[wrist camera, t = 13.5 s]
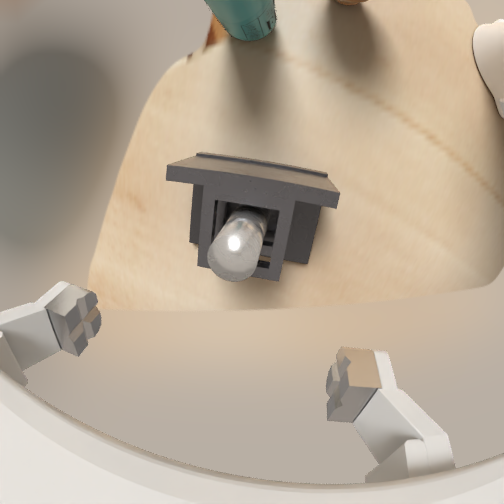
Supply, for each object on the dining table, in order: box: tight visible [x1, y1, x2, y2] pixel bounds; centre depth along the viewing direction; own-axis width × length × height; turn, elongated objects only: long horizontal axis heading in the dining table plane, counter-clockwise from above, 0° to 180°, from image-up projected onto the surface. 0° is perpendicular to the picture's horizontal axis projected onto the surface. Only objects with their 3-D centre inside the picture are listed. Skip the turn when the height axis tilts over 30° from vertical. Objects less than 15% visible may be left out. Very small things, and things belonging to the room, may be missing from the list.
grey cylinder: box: [207, 204, 271, 282], centre depth 29 cm, size 4×4×14 cm
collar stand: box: [166, 152, 340, 281], centre depth 32 cm, size 16×12×10 cm
